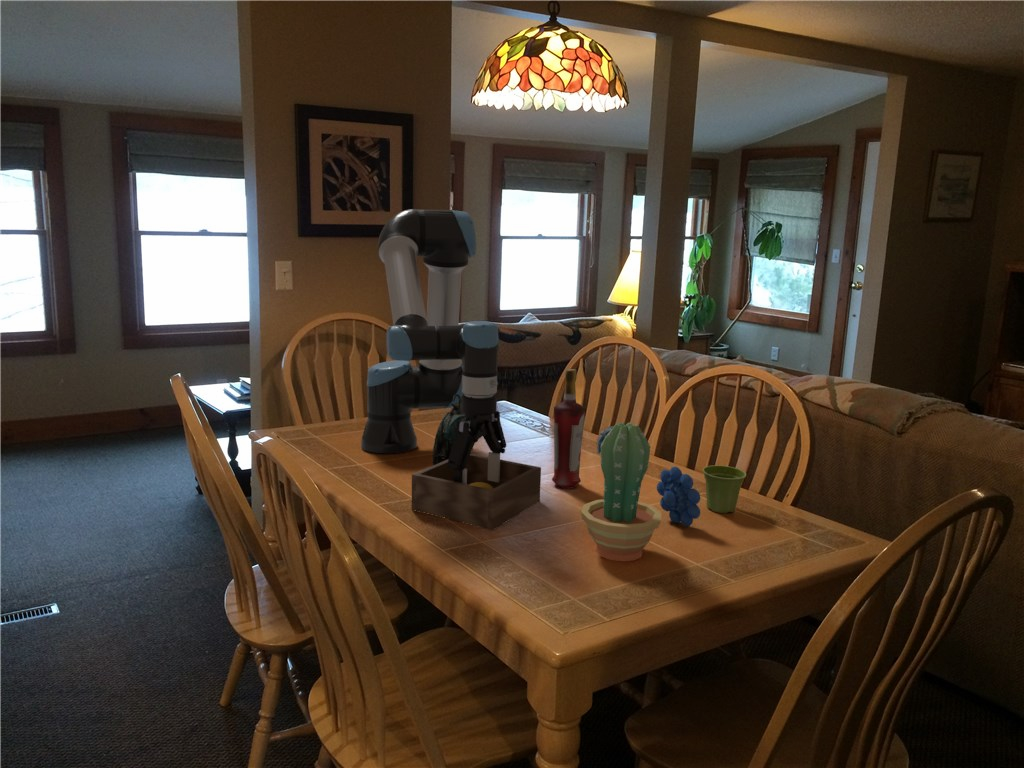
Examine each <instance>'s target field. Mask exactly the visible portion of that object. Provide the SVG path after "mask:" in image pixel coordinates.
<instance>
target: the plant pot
mask: <svg viewBox="0 0 1024 768" xmlns="http://www.w3.org/2000/svg"><path fill="white" fill-rule="evenodd" d="M702 472H703V476H704V479H705V489H706V491H705V492H706V494H705V495H706V507H707V509H709V510H711V511H713V512H714V513H721V514H727V513H733V512H735V511H736V508H737V503H738V499H739V496H740V491H741V486H742V484H743V482H744V479H745V478H746V477H747V473H746V471H744V470H742V469H740V468H738V467H734V466H728V465H719V464H715V465H707V466H705V467H703V468H702Z"/></svg>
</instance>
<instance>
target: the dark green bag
mask: <svg viewBox="0 0 1024 768" xmlns="http://www.w3.org/2000/svg"><path fill="white" fill-rule="evenodd" d="M456 396H458V398H459V403H455V404H451V405H452V407H450V411H448V412H447V413H445V415H444V416H443V417H442V419H441V421H440V423H439V425H438V427H437V430H436V433H435V437H434V443H433V450H432V466H433V465H436V464H438V463H440V462H443V461H445V460H447V459H449V456H450V452H451V448H452V445H453V441H454V437H455V434H456V426H457V422H458V421H461V422H465V420H466V414H465V413H463V412H462V398H461V397H460V396H459V395H458V394H455V395H454V396H453V401H455V398H456ZM462 433H463V432H462ZM468 435H469V434H468ZM469 436H470V435H469ZM470 454H472V452H471V453H470Z"/></svg>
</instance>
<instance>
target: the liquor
mask: <svg viewBox="0 0 1024 768" xmlns="http://www.w3.org/2000/svg"><path fill="white" fill-rule="evenodd" d="M564 372H565V374H564V378H565V379H564V380H565V386H564V387H565V388H564V393H563V394H564V395H563V401H561V402H559V403H558V404H556V405H555V406H554V407H553V439H554V440H553V444H554V445H553V447H554V449H553V450H554V451H553V454H554V457H553V462H554V463H553V464H554V465H553V467H554V468H553V475H552V478H551V480H552V482H553V483H554V484H555V485H556V486H557V487H559V488H561V489H563V488H564V489H572V488H575V487H576V486H577V485H578V484H580V483H581V482H582V481H581V478H580V467H581V466H580V465H581V455H582V445H583V438H584V437H583V435H584V426H585V425H584V424H585V415H586V413H585V412H586V408H585V407H584V406H583V405H582V404H580V403H578V402H577V394H576V393H577V392H576V380H577V375H578V374H577V373H578V370H577V369H574V368H573V369H572V368H567V369H565V371H564Z"/></svg>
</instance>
